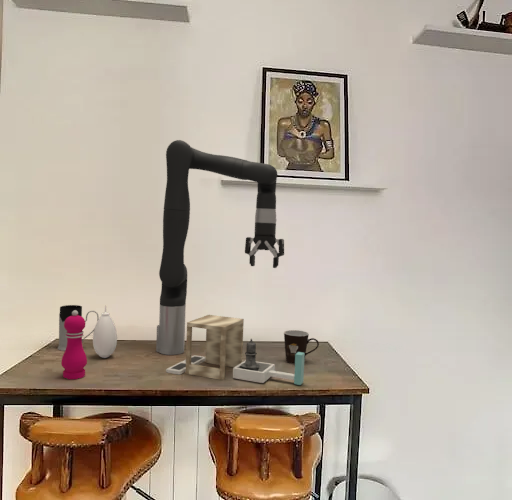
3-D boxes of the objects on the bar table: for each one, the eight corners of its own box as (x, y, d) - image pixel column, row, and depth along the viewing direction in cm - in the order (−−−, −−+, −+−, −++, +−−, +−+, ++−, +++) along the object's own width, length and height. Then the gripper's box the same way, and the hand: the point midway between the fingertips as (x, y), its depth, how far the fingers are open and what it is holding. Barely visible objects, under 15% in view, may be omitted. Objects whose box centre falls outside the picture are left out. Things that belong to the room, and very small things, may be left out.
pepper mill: (71, 381, 140) (72, 313, 139) (55, 376, 144) (56, 310, 143) (91, 375, 147) (93, 310, 145) (76, 370, 150) (77, 307, 149)
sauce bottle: (98, 361, 160) (99, 308, 159) (88, 356, 166) (89, 304, 165) (120, 358, 166) (121, 306, 164) (110, 352, 171) (111, 302, 170)
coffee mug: (277, 360, 169) (278, 332, 168) (293, 356, 175) (294, 329, 175) (304, 368, 161) (305, 339, 161) (319, 363, 168) (320, 335, 167)
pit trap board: (165, 372, 152) (166, 368, 152) (194, 358, 169) (194, 354, 169) (179, 374, 150) (179, 371, 150) (206, 360, 167) (206, 356, 167)
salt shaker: (256, 380, 148) (258, 341, 147) (238, 378, 149) (239, 339, 148) (261, 374, 153) (262, 337, 153) (243, 372, 155) (244, 335, 154)
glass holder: (62, 344, 180) (62, 304, 179) (100, 345, 181) (101, 305, 180) (53, 350, 172) (54, 308, 171) (94, 351, 173) (95, 309, 172)
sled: (232, 377, 148) (233, 348, 147) (245, 368, 157) (246, 341, 157) (297, 388, 140) (298, 358, 140) (306, 378, 150) (307, 350, 149)
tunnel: (185, 373, 152) (186, 322, 151) (207, 361, 165) (208, 314, 164) (223, 380, 147) (224, 327, 146) (241, 367, 160) (243, 318, 159)
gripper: (243, 220, 172) (241, 266, 173) (280, 222, 167) (279, 269, 168) (251, 221, 179) (249, 264, 180) (287, 222, 174) (285, 267, 175)
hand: (263, 266), depth 174 cm, fingers open, 8 cm apart
